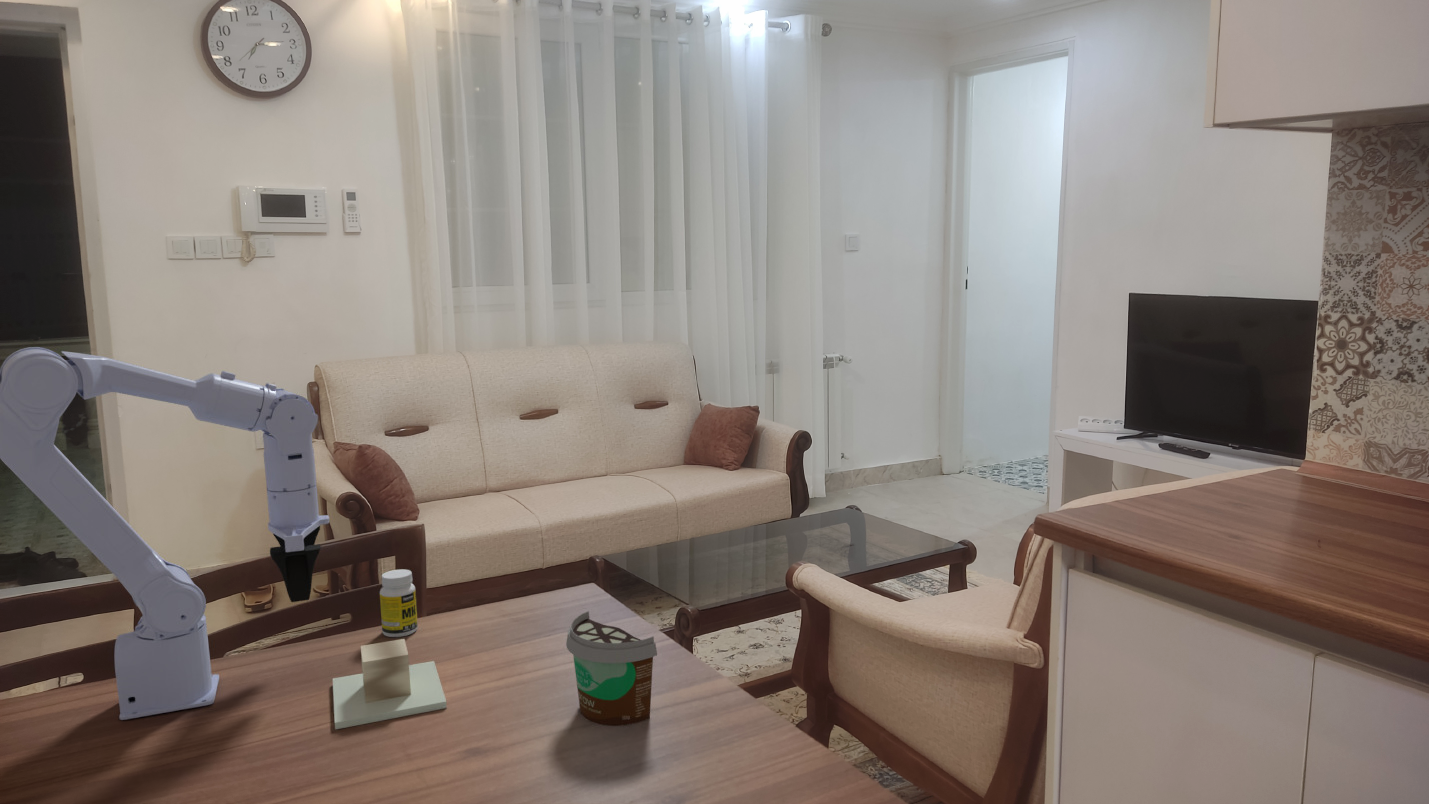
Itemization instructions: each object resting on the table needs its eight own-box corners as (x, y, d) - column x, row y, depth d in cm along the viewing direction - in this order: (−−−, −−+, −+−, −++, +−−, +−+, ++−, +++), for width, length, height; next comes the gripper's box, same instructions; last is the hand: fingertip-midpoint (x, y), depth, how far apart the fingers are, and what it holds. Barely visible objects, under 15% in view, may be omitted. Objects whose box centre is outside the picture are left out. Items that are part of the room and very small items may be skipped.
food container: (546, 707, 108) (543, 625, 106) (588, 688, 112) (585, 609, 110) (617, 743, 99) (614, 655, 98) (659, 722, 104) (657, 637, 102)
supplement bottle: (406, 639, 127) (402, 580, 126) (375, 636, 128) (371, 578, 127) (424, 625, 132) (420, 569, 131) (394, 623, 133) (390, 567, 132)
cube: (365, 703, 107) (362, 662, 107) (363, 685, 112) (360, 645, 111) (410, 694, 109) (408, 654, 108) (407, 677, 114) (404, 638, 113)
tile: (335, 729, 103) (334, 722, 103) (333, 684, 114) (332, 678, 114) (446, 707, 108) (446, 701, 107) (434, 666, 119) (434, 660, 118)
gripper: (327, 496, 111) (335, 604, 113) (325, 471, 124) (333, 568, 127) (261, 503, 109) (271, 613, 111) (267, 476, 122) (276, 576, 124)
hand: (300, 590), depth 118 cm, fingers open, 7 cm apart
